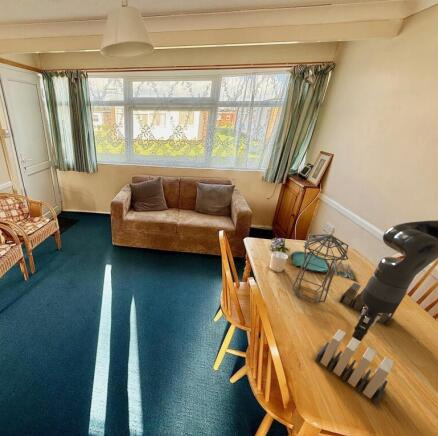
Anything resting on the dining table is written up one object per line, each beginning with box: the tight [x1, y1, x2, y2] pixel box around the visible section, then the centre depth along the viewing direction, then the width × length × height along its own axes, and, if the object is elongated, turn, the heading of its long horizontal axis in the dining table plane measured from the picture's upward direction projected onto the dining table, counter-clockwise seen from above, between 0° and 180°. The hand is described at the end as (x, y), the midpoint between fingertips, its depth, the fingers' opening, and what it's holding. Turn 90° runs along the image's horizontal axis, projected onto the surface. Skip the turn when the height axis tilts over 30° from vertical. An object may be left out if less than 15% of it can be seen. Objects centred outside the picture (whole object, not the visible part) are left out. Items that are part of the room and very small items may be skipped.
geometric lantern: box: [291, 233, 349, 304], centre depth 105 cm, size 16×16×35 cm
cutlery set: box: [290, 250, 354, 281], centre depth 134 cm, size 20×30×2 cm, turn 58°
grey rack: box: [338, 282, 396, 327], centre depth 102 cm, size 17×8×10 cm, turn 35°
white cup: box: [269, 250, 289, 273], centre depth 129 cm, size 8×8×10 cm
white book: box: [332, 337, 361, 377], centre depth 77 cm, size 2×6×13 cm, turn 124°
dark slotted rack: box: [314, 328, 395, 405], centre depth 76 cm, size 17×8×14 cm, turn 35°
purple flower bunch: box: [270, 237, 291, 254], centre depth 147 cm, size 11×11×12 cm
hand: (361, 331), depth 72 cm, fingers open, 8 cm apart
